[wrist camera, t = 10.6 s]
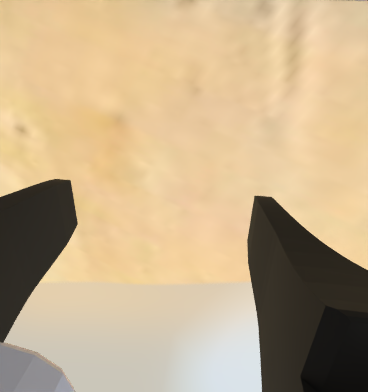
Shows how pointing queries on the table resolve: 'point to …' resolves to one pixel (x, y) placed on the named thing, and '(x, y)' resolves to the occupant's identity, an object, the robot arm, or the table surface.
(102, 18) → the table surface
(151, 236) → the table surface
